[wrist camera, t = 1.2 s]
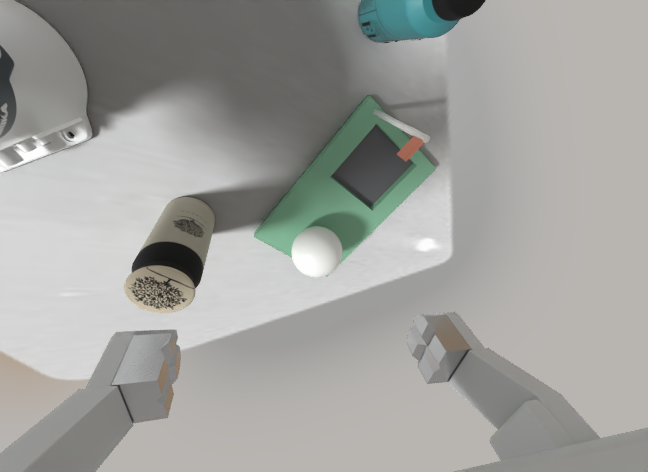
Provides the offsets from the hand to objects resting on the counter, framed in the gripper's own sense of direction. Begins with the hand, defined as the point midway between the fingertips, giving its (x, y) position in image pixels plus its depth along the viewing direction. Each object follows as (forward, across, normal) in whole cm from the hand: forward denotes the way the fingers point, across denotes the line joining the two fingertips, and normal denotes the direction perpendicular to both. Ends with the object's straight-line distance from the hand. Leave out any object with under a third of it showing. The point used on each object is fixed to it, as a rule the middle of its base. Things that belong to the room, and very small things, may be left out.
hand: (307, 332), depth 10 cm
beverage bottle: (+39, +14, +15) cm, 44 cm away
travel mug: (+39, -12, -17) cm, 45 cm away
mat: (+39, +14, -12) cm, 43 cm away
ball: (+33, +9, -20) cm, 40 cm away
